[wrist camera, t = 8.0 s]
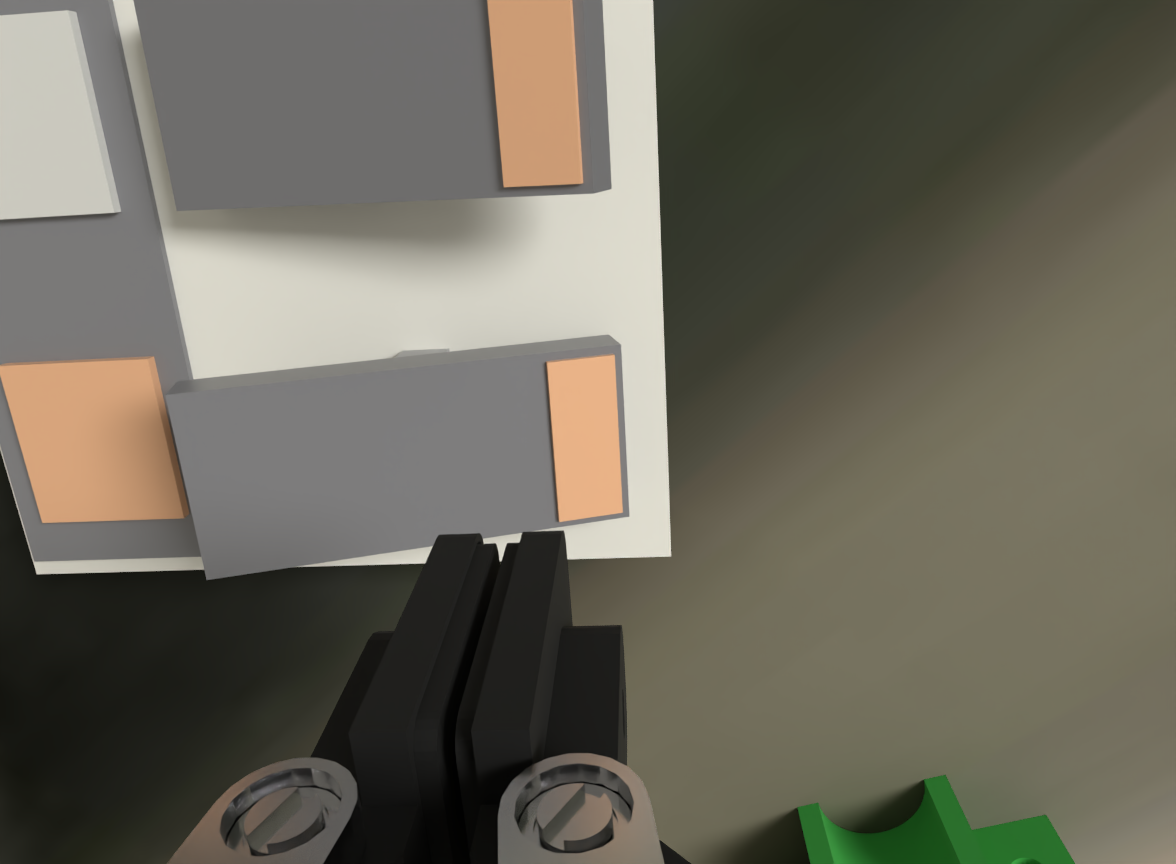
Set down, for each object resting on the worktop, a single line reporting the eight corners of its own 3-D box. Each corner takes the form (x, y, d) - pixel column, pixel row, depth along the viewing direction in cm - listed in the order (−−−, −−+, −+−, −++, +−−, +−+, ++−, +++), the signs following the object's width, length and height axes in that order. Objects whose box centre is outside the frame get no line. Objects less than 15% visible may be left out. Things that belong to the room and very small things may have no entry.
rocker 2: (177, 381, 20) (163, 396, 18) (608, 334, 21) (622, 345, 20) (216, 556, 21) (205, 582, 20) (617, 498, 23) (631, 518, 22)
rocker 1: (174, 4, 20) (127, -3, 18) (599, -54, 16) (576, -67, 15) (213, 206, 21) (172, 211, 20) (611, 188, 18) (591, 193, 17)
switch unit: (-118, -400, 21) (-338, -555, 16) (633, -486, 20) (631, -683, 15) (116, 516, 29) (13, 591, 24) (666, 497, 27) (672, 574, 23)
